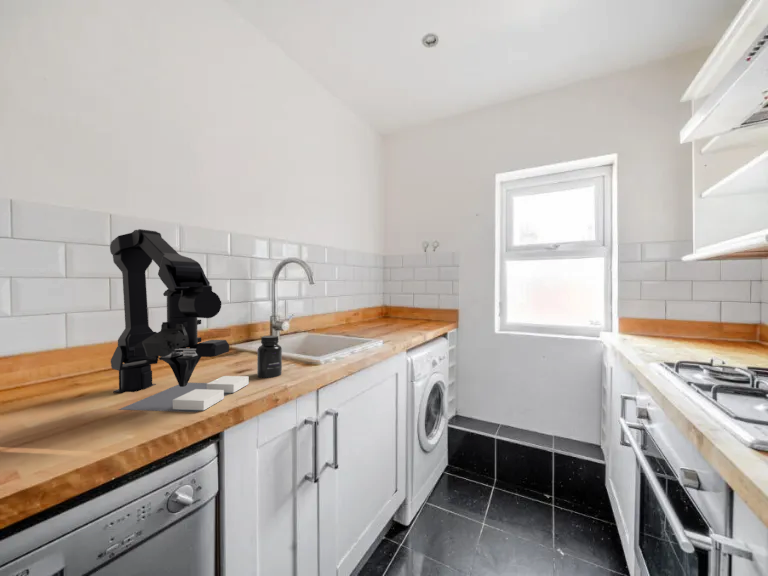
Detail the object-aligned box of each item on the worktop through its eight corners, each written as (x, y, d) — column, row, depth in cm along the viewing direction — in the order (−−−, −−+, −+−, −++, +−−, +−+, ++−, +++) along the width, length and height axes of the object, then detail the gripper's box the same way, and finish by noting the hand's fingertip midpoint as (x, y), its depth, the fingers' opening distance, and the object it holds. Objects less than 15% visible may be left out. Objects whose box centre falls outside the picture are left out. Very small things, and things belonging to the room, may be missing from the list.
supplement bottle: (274, 380, 89) (273, 338, 89) (252, 379, 91) (252, 338, 91) (286, 374, 96) (285, 335, 96) (266, 373, 97) (265, 334, 97)
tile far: (206, 383, 78) (233, 384, 77) (223, 375, 85) (248, 376, 84) (206, 392, 78) (233, 393, 77) (223, 384, 85) (248, 384, 84)
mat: (118, 412, 67) (118, 409, 67) (183, 384, 86) (183, 382, 86) (197, 414, 66) (197, 411, 66) (245, 386, 85) (245, 383, 85)
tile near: (172, 399, 67) (203, 400, 66) (195, 389, 74) (223, 389, 73) (172, 410, 67) (203, 411, 66) (195, 398, 74) (223, 399, 73)
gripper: (109, 320, 63) (110, 398, 63) (196, 320, 61) (197, 400, 61) (155, 315, 74) (155, 381, 74) (230, 315, 72) (230, 382, 72)
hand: (183, 386), depth 70 cm, fingers closed
